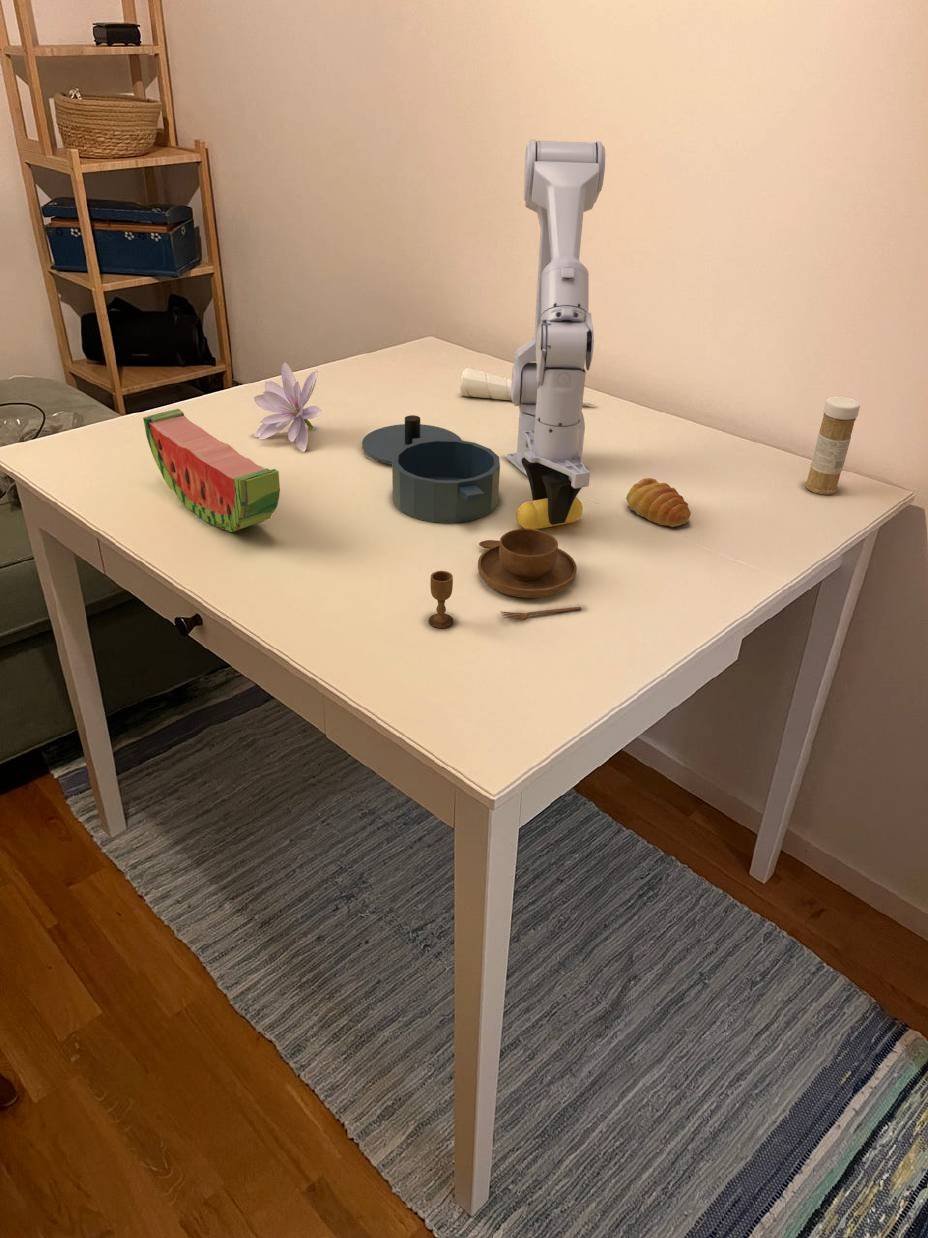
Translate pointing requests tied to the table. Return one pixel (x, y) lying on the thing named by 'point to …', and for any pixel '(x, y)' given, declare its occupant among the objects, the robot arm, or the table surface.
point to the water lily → (287, 407)
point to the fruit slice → (211, 473)
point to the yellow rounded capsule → (544, 514)
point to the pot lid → (400, 438)
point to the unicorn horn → (488, 385)
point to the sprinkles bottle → (832, 444)
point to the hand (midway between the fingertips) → (549, 515)
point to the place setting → (514, 571)
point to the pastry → (658, 503)
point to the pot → (445, 480)
